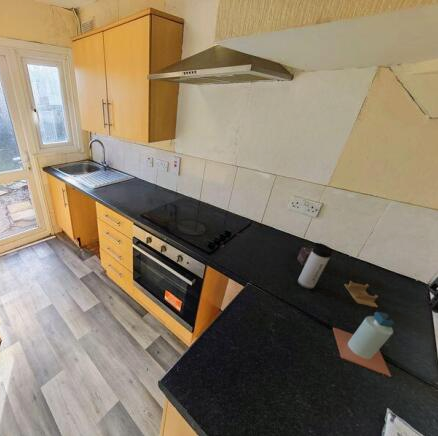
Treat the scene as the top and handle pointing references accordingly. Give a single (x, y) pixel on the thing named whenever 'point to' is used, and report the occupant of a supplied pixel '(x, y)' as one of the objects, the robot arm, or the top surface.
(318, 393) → the top surface
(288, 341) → the top surface
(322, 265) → the travel mug
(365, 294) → the drying stand
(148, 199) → the top surface
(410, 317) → the top surface
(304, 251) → the box
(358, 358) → the plate
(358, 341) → the pale blue bottle
